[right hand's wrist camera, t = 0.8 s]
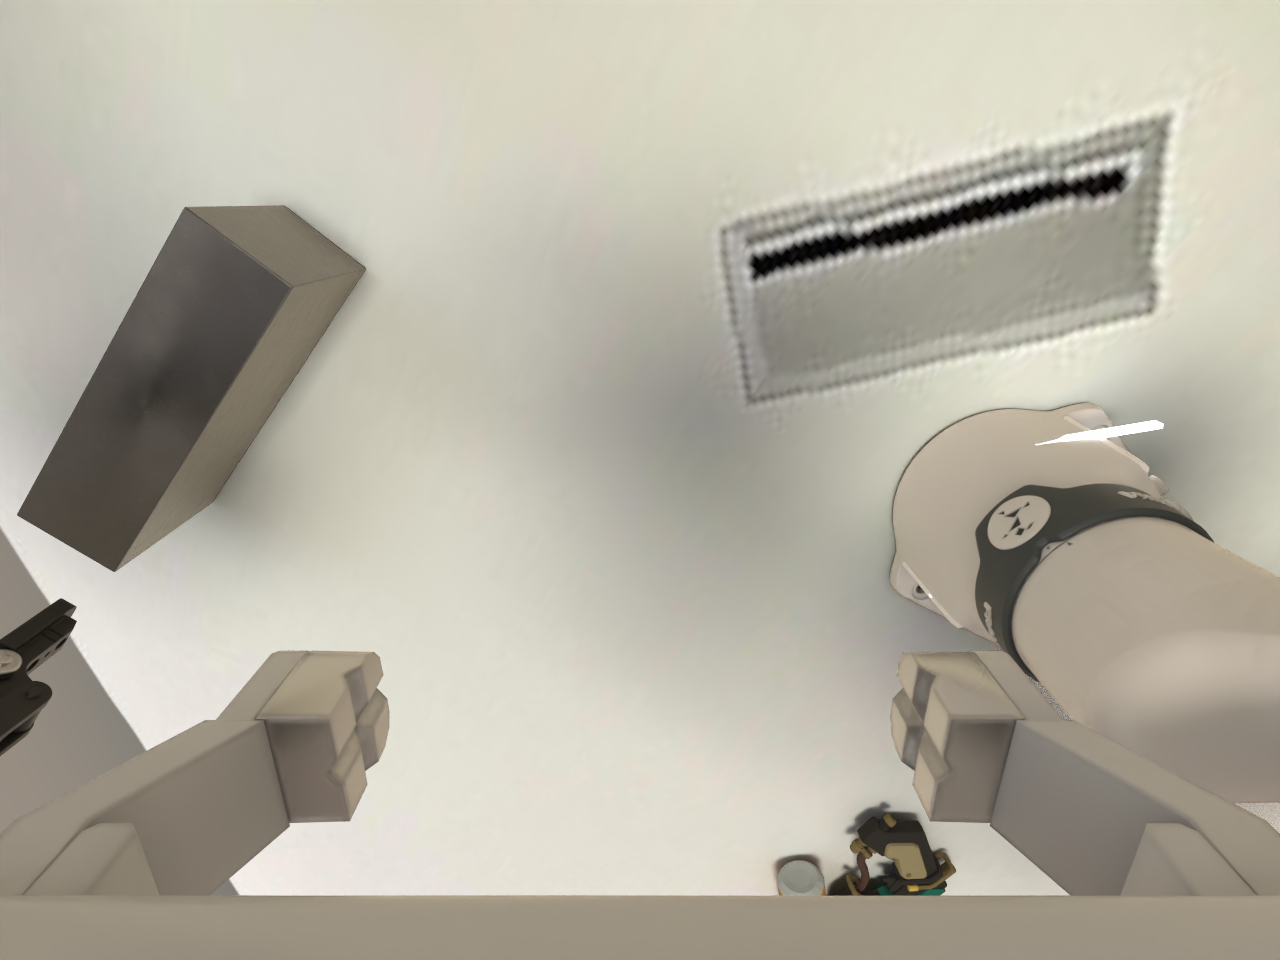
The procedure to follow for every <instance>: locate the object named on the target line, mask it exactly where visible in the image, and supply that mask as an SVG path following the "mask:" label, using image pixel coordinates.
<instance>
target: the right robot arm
mask: <svg viewBox="0 0 1280 960" xmlns="http://www.w3.org/2000/svg"><path fill="white" fill-rule="evenodd" d="M1161 428H1163V423H1160V422H1158V421H1155V420H1154V421H1148V422H1142V423H1136V424H1130V425H1124V426H1118V427H1114V426H1113V424H1112V423H1111V421H1110V419H1109V417H1108V416H1107V414H1106V413H1105V412H1104V411H1103V410H1102V409H1100V408H1099V407H1097V406H1096V405H1094V404H1091V403H1080V404H1075V405H1070V406H1067V407H1063V408H1059V409H1056V410H1053V411H1034V410H1025V409H1001V410H994V411H988V412H984V413H980V414H977V415H974V416H971V417H969V418H966V419H964V420H962V421H960V422H958V423H956V424H954V425H952V426H950V427H949V428H947V429H945V430H944V431H943V432H941V433H940V434H938V435H937V436H936V437H935V438H933V439H932V440H931V441H930V442H929V443H928V444H927V445H926V446H925V447H924V448H923V449H922V450H921V451H920V452H919V453H918V454H917V455H916V457H915V458H914V459H913V460H912V462H911V463H910V465H909V466H908V468H907V470H906V471H905V473H904V475H903V477H902V479H901V481H900V484H899V486H898V489H897V492H896V495H895V500H894V505H893V528H894V534H895V539H896V554H895V557H894V561H893V564H892V568H891V572H890V583H891V585H892V587H893V588H894V589H895V590H896V591H897V592H898V593H899V594H901V595H902V596H904V597H906V598H908V599H910V600H912V601H914V602H916V603H918V604H920V605H922V606H924V607H926V608H927V609H929V610H931V611H933V612H935V613H937V614H939V615H941V616H943V617H945V618H947V619H948V620H949V621H950V622H951V623H952V624H953V625H954V626H955V627H956V628H958V629H960V628H964V627H965V628H966V629H968V630H969V631H971V632H973V633H975V634H977V635H979V636H981V637H983V638H986V639H988V640H990V641H992V642H994V643H995V644H996V645H997V646H998V648H999V649H1000V650H993V651H968V652H937V653H903V655H902V657H901V659H900V661H899V665H898V670H897V677H898V678H899V680H900V682H901V684H902V686H903V689H902V690H901V691H900V692H899V693H898V694H897V695H896V696H895V697H894V698H893V700H892V708H891V716H890V718H891V730H892V737H893V741H894V744H895V748H896V750H897V752H898V755H899V757H900V759H901V761H902V762H903V763H905V764H906V765H907V766H909V767H910V768H911V769H913V770H914V771H915V774H914V779H913V786H914V789H915V791H916V793H917V795H918V797H919V799H920V801H921V803H922V805H923V807H924V809H925V811H926V813H927V815H928V817H929V819H930V821H942V822H977V823H990V826H991V827H992V828H993V829H994V830H996V831H997V832H998V833H999V834H1000V835H1001V836H1002V837H1004V838H1005V839H1006V840H1007V841H1008V842H1009V843H1011V844H1012V845H1013V846H1014V847H1015V848H1016V849H1018V850H1019V851H1020V852H1021V853H1022V854H1023V855H1024V856H1026V857H1027V858H1028V859H1029V860H1030V861H1031V862H1033V863H1034V864H1035V865H1036V866H1037V867H1038V868H1039V869H1041V870H1042V871H1043V872H1044V873H1045V874H1046V875H1048V876H1049V877H1050V878H1051V879H1052V880H1053V881H1055V882H1056V883H1057V884H1058V885H1059V886H1060V887H1061V888H1063V889H1064V890H1065V891H1066V892H1067V893H1068V894H1070V895H1071V896H610V895H496V896H242V895H211V894H212V893H213V892H214V891H215V890H216V889H217V888H219V887H220V886H221V885H222V884H223V883H225V882H226V881H227V880H228V879H229V878H230V877H231V876H233V875H234V874H235V873H236V872H237V871H238V870H240V869H241V868H242V867H243V866H244V865H245V864H247V863H248V862H249V861H250V860H251V859H252V858H253V857H255V856H256V855H257V854H258V853H259V852H260V851H262V850H263V849H264V848H265V847H266V846H267V845H269V844H270V843H271V842H272V841H273V840H274V839H276V838H277V837H278V836H279V835H280V834H281V833H282V832H284V831H285V830H286V829H287V828H288V827H289V826H290V824H289V823H303V822H337V821H350V820H351V818H352V815H353V813H354V811H355V809H356V807H357V805H358V803H359V801H360V799H361V797H362V795H363V793H364V791H365V788H366V786H367V779H366V774H365V771H366V770H367V769H369V768H370V767H371V766H373V765H374V764H375V763H377V762H378V761H379V759H380V757H381V754H382V752H383V750H384V748H385V745H386V740H387V735H388V730H389V707H388V700H387V698H386V697H385V696H384V695H383V694H382V693H381V692H380V691H379V690H378V689H377V686H378V684H379V682H380V680H381V678H382V677H383V671H382V666H381V661H380V657H379V656H378V655H377V654H376V653H374V652H345V651H311V652H310V651H278V652H275V653H272V654H271V655H270V656H269V657H268V659H267V660H266V661H265V662H264V663H263V665H262V666H261V667H260V668H259V669H258V670H257V672H256V673H255V674H254V675H253V676H252V678H251V679H250V680H249V681H248V682H247V684H246V685H245V686H244V687H243V688H242V689H241V691H240V692H239V693H238V694H237V695H236V697H235V698H234V699H233V700H232V701H231V703H230V704H229V705H228V706H227V707H226V709H225V710H224V711H223V712H222V713H221V714H220V716H219V717H218V718H217V719H216V720H205V721H203V722H201V723H199V724H197V725H195V726H193V727H192V728H190V729H188V730H186V731H184V732H182V733H180V734H178V735H176V736H174V737H172V738H171V739H169V740H167V741H165V742H163V743H161V744H159V745H157V746H155V747H153V748H151V749H150V750H148V751H146V752H144V753H142V754H140V755H138V756H136V757H134V758H132V759H131V760H129V761H127V762H125V763H123V764H121V765H119V766H117V767H115V768H113V769H111V770H109V771H108V772H106V773H104V774H102V775H100V776H98V777H96V778H94V779H92V780H90V781H89V782H87V783H85V784H83V785H81V786H79V787H77V788H75V789H73V790H71V791H69V792H68V793H66V794H64V795H62V796H60V797H58V798H56V799H54V800H52V801H50V802H49V803H47V804H45V805H43V806H41V807H39V808H37V809H35V810H33V811H31V812H29V813H27V814H26V815H24V816H22V817H20V818H18V819H16V820H15V821H14V822H12V823H11V824H10V825H9V826H8V827H7V828H6V829H5V830H4V831H3V832H2V833H1V834H0V960H1280V834H1279V833H1278V832H1277V831H1276V830H1275V829H1274V828H1273V827H1272V826H1271V825H1270V824H1269V823H1268V822H1267V821H1265V820H1263V819H1262V818H1260V817H1258V816H1256V815H1254V814H1252V813H1250V812H1248V811H1246V810H1244V809H1243V808H1241V807H1239V806H1237V805H1235V804H1233V803H1275V802H1276V803H1280V577H1278V576H1276V575H1274V574H1272V573H1270V572H1268V571H1266V570H1264V569H1262V568H1260V567H1258V566H1256V565H1254V564H1252V563H1250V562H1248V561H1246V560H1244V559H1242V558H1241V557H1239V556H1237V555H1235V554H1233V553H1231V552H1230V551H1228V550H1226V549H1224V548H1222V547H1220V546H1219V545H1217V544H1215V543H1214V541H1213V540H1212V538H1211V537H1210V536H1209V535H1208V533H1207V532H1206V531H1205V530H1204V529H1203V528H1202V527H1201V526H1199V525H1198V524H1196V523H1195V522H1194V521H1193V519H1192V517H1191V516H1190V515H1189V513H1188V512H1187V511H1186V510H1185V509H1184V508H1183V507H1182V506H1181V505H1179V504H1178V503H1177V502H1175V501H1174V500H1172V499H1170V498H1166V499H1163V500H1162V499H1161V496H1163V495H1164V494H1165V493H1167V492H1168V490H1169V489H1168V487H1167V486H1166V484H1165V483H1164V482H1163V481H1162V480H1161V479H1160V478H1158V477H1157V476H1155V475H1150V476H1149V475H1148V472H1149V470H1150V468H1149V467H1148V466H1147V465H1146V464H1145V463H1144V462H1143V461H1142V460H1140V459H1139V458H1137V457H1135V456H1134V455H1132V454H1130V453H1129V452H1128V451H1127V449H1126V447H1125V445H1124V444H1123V442H1122V440H1121V438H1120V437H1119V435H1125V434H1131V433H1137V432H1143V431H1149V430H1155V429H1161ZM918 585H919V586H920V587H921V588H919V589H916V588H917V586H918ZM1027 675H1028V676H1029V677H1031V678H1032V679H1034V680H1035V681H1037V682H1040V683H1041V684H1042V685H1043V686H1044V687H1045V688H1046V690H1047V691H1048V692H1049V693H1050V694H1051V696H1052V697H1053V698H1054V699H1055V700H1056V702H1057V703H1058V704H1059V705H1060V706H1061V708H1062V709H1063V710H1064V711H1065V712H1066V713H1067V715H1068V716H1069V717H1070V718H1071V719H1072V720H1064V719H1063V718H1062V717H1061V716H1060V715H1059V713H1058V712H1057V711H1056V710H1055V709H1054V707H1053V706H1052V705H1051V704H1050V703H1049V701H1048V700H1047V699H1046V698H1045V697H1044V696H1043V694H1042V693H1041V692H1040V691H1039V690H1038V688H1037V687H1036V686H1035V685H1034V684H1033V682H1032V681H1031V680H1030V679H1029V678H1028V677H1027Z"/></svg>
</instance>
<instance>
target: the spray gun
mask: <svg viewBox="0 0 1280 960" xmlns="http://www.w3.org/2000/svg"><path fill="white" fill-rule="evenodd" d="M883 817H884V819H880V820H878V819H876V818H875V817H872V818H871V819H870V820H868V821H867V822H866V823H865V824H864V825H862V826H861V827H860V828H859V829H857V832H858V834H859V836H860V837H859V839H855V840H854V841H853V842H852V844H851V845H850V849H851V851H852V852H853V853H857V852H860V853H859V854H858V856H857V864H858V866H859V868H860V871H861V879H860V881H859V880H858V879H857V878H856V877H855V876H854V875H852V874H850V873H849V874H847V875H846V880H847V883H848V886H849V887H847V888H846V889H845V890H844V891H842V892H841V893H840V894H838V895H837V896H940V895H941V894H943V893H944V892H945V887H947V883H946V881H945V880H946V879H947V878H948V877H950V876H951V875H952V874H954V873H955V872H956V869H955V867H954V866H953V864H952V863H951V861H950V859H949V858H948V856H947V855H946V853H943V852H939V853H937V854H935V855H933V854H932V852H931V849H930V846H929V844H928V841H927V838H926V836H925V833H924V831H923V828H922V826H921V825H920V823H919V821H896V820H895V818H894V817H893V816H892V815H891V814H889V813H888V814H886V815H885V816H883ZM876 852H877V853H879V854H880V855H881V856H886V857H887V858H889V859H893V858H894V862H893V863H892V865H893V868H894V870H895V872H896V874H897V875H895V876H894V875H888V876H883V877H882V880H883V882H887V884H886V885H883V886H881V887H879V888H878V889H876V890H875V891H873V890H864V889H865V888H866V886H867V884H868V882H869V872H868V867H867V865H866V863H865V859H866V858H867V859H869V858H870V857H872V853H876ZM940 857H944V859H945V862H944V863H943V864H941V866H940V864H939V862H938V860H937V859H939V858H940ZM852 881H853V882H854V883H855V884H856V885H855V886H854V884H853V882H852ZM777 885H778V891H779V896H826V893H825V884H824V877H823V875H822V874H821V872H820V870H819V869H818V868H817V867H816V866H814V865H813V864H812V863H810V862H807V861H804V860H794V861H791V862H789V863H786V864H785V865H784V866H783V867H782V868H781V869H780V871H779V874H778V877H777Z"/></svg>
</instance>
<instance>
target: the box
mask: <svg viewBox="0 0 1280 960" xmlns="http://www.w3.org/2000/svg"><path fill="white" fill-rule="evenodd" d="M364 271H365V268H364V267H363V266H362V265H361V264H359V263H358V262H357V261H355V260H354V259H353V258H351V257H350V256H349V255H348V254H346V253H345V252H344V251H342V250H341V249H340V248H339V247H337V246H336V245H335V244H333V243H332V242H331V241H329V240H328V239H327V238H326V237H324V236H323V235H322V234H320V233H319V232H318V231H317V230H315V229H314V228H313V227H311V226H310V225H309V224H307V223H306V222H305V221H304V220H302V219H301V218H300V217H298V216H297V215H296V214H294V213H293V212H292V211H291V210H289V209H288V208H287V207H285V206H220V207H185V208H184V209H183V211H182V213H181V215H180V217H179V218H178V220H177V222H176V224H175V226H174V228H173V229H172V231H171V233H170V235H169V237H168V239H167V240H166V242H165V244H164V246H163V248H162V250H161V251H160V253H159V255H158V257H157V259H156V261H155V262H154V264H153V266H152V268H151V270H150V272H149V273H148V275H147V277H146V279H145V281H144V283H143V284H142V286H141V288H140V290H139V292H138V294H137V295H136V297H135V299H134V301H133V303H132V305H131V306H130V308H129V310H128V312H127V314H126V316H125V317H124V319H123V321H122V323H121V325H120V327H119V328H118V330H117V332H116V334H115V336H114V338H113V339H112V341H111V343H110V345H109V347H108V349H107V350H106V352H105V354H104V356H103V358H102V360H101V362H100V363H99V365H98V367H97V369H96V371H95V373H94V374H93V376H92V378H91V380H90V382H89V384H88V385H87V387H86V389H85V391H84V393H83V395H82V396H81V398H80V400H79V402H78V404H77V406H76V407H75V409H74V411H73V413H72V415H71V417H70V418H69V420H68V422H67V424H66V426H65V428H64V429H63V431H62V433H61V435H60V437H59V439H58V440H57V442H56V444H55V446H54V448H53V450H52V451H51V453H50V455H49V457H48V459H47V461H46V462H45V464H44V466H43V468H42V470H41V472H40V473H39V475H38V477H37V479H36V481H35V483H34V484H33V486H32V488H31V490H30V492H29V494H28V495H27V497H26V499H25V501H24V503H23V505H22V506H21V508H20V510H19V512H18V514H17V515H18V516H19V517H21V518H23V519H24V520H26V521H28V522H29V523H31V524H33V525H35V526H36V527H38V528H40V529H41V530H43V531H45V532H47V533H48V534H50V535H52V536H53V537H55V538H57V539H59V540H60V541H62V542H64V543H65V544H67V545H69V546H70V547H72V548H74V549H76V550H77V551H79V552H81V553H82V554H84V555H86V556H88V557H89V558H91V559H93V560H94V561H96V562H98V563H100V564H101V565H103V566H105V567H106V568H108V569H110V570H111V571H113V572H115V571H117V570H118V569H120V568H121V567H123V566H124V565H125V564H127V563H128V562H130V561H131V560H132V559H134V558H135V557H137V556H138V555H139V554H141V553H142V552H144V551H145V550H146V549H148V548H149V547H151V546H152V545H153V544H155V543H156V542H158V541H159V540H160V539H162V538H163V537H165V536H166V535H167V534H169V533H170V532H172V531H173V530H175V529H176V528H177V527H179V526H180V525H182V524H183V523H184V522H186V521H187V520H189V519H190V518H191V517H193V516H194V515H196V514H197V513H198V512H200V511H201V510H203V509H204V508H205V507H207V506H208V505H210V504H211V503H212V502H213V501H214V499H215V498H216V496H217V494H218V493H219V491H220V490H221V488H222V487H223V485H224V484H225V482H226V481H227V479H228V478H229V476H230V475H231V473H232V472H233V470H234V469H235V467H236V466H237V464H238V463H239V461H240V460H241V458H242V456H243V455H244V453H245V452H246V450H247V449H248V447H249V446H250V444H251V443H252V441H253V440H254V438H255V437H256V435H257V434H258V432H259V431H260V429H261V428H262V426H263V425H264V423H265V422H266V420H267V418H268V417H269V415H270V414H271V412H272V411H273V409H274V408H275V406H276V405H277V403H278V402H279V400H280V399H281V397H282V396H283V394H284V393H285V391H286V390H287V388H288V387H289V385H290V384H291V382H292V380H293V379H294V377H295V376H296V374H297V373H298V371H299V370H300V368H301V367H302V365H303V364H304V362H305V361H306V359H307V358H308V356H309V355H310V353H311V352H312V350H313V349H314V347H315V346H316V344H317V342H318V341H319V339H320V338H321V336H322V335H323V333H324V332H325V330H326V329H327V327H328V326H329V324H330V323H331V321H332V320H333V318H334V317H335V315H336V314H337V312H338V311H339V309H340V308H341V306H342V304H343V303H344V301H345V300H346V298H347V297H348V295H349V294H350V292H351V291H352V289H353V288H354V286H355V285H356V283H357V282H358V280H359V279H360V277H361V276H362V274H363V273H364Z"/></svg>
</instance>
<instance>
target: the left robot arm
mask: <svg viewBox="0 0 1280 960" xmlns="http://www.w3.org/2000/svg"><path fill="white" fill-rule="evenodd" d="M75 609H76V606H74V605H73V604H71V603H69V602H67V601H65V600H64V599H59V600H57V601H56V602H54V603H53V604H51V605H50V606H49V607H47V608H46V609H44V610H43V611H41V612H40V613H38V614H37V615H35V616H34V617H33V618H31V619H30V620H28V621H27V622H25V623H24V624H22V625H21V626H20V627H18V628H17V629H15V630H14V631H12V632H11V633H9V634H8V635H6V636H5V637H3V638H2V639H1V640H0V756H1V755H2V754H4V753H5V752H6V751H7V750H9V749H10V748H11V747H12V746H14V745H15V744H16V743H18V742H19V741H20V740H21V739H23V738H24V737H25V736H26V735H27V734H28V733H29V732H30V730H31V728H32V727H33V725H34V721H35V719H36V718H37V716H38V715H39V713H40V712H41V710H42V708H44V707H45V706H46V704H47V703H48V701H49V700H50V698H51V696H52V690H51V688H50V687H49V686H48V685H47V684H45V683H43V682H39V681H32V680H31V679H30V678H29V677H28V674H29V673H31V672H32V671H33V670H35V669H36V668H37V667H38V666H40V665H41V664H42V663H43V662H44V661H46V660H47V659H49V658H50V657H51V656H53V655H54V654H55V653H56V652H58V651H59V650H60V649H61V648H62V646H63V645H64V643H65V641H66V640H67V638H68V637H69V635H70V633H71V632H72V630H73V628H74V626H75V624H76V622H77V621H76V620H74V619H72V618H71V616H72V614H73V613H74V611H75Z"/></svg>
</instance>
